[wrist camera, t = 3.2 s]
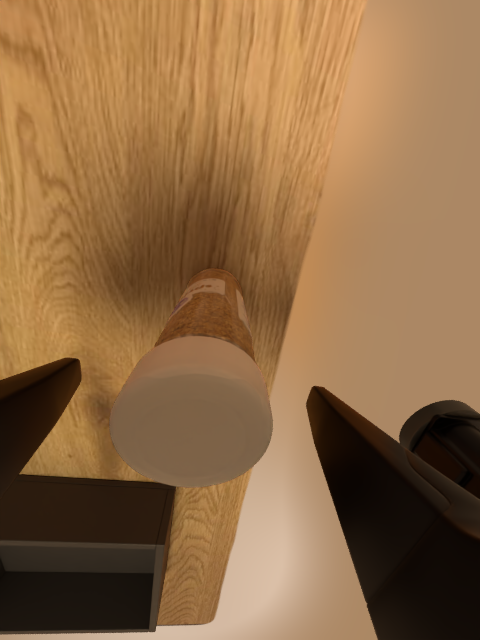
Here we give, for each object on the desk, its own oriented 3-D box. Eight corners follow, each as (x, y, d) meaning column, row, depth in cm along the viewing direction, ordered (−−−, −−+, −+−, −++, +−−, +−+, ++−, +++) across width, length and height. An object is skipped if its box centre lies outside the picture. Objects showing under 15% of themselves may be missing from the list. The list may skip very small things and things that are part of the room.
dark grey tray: (176, 483, 27) (164, 545, 22) (165, 570, 34) (155, 632, 29) (-33, 471, 24) (-101, 537, 19) (4, 568, 32) (-39, 635, 27)
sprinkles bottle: (197, 257, 17) (127, 344, 5) (252, 281, 18) (307, 404, 6) (178, 310, 19) (86, 476, 7) (229, 330, 20) (235, 507, 7)
